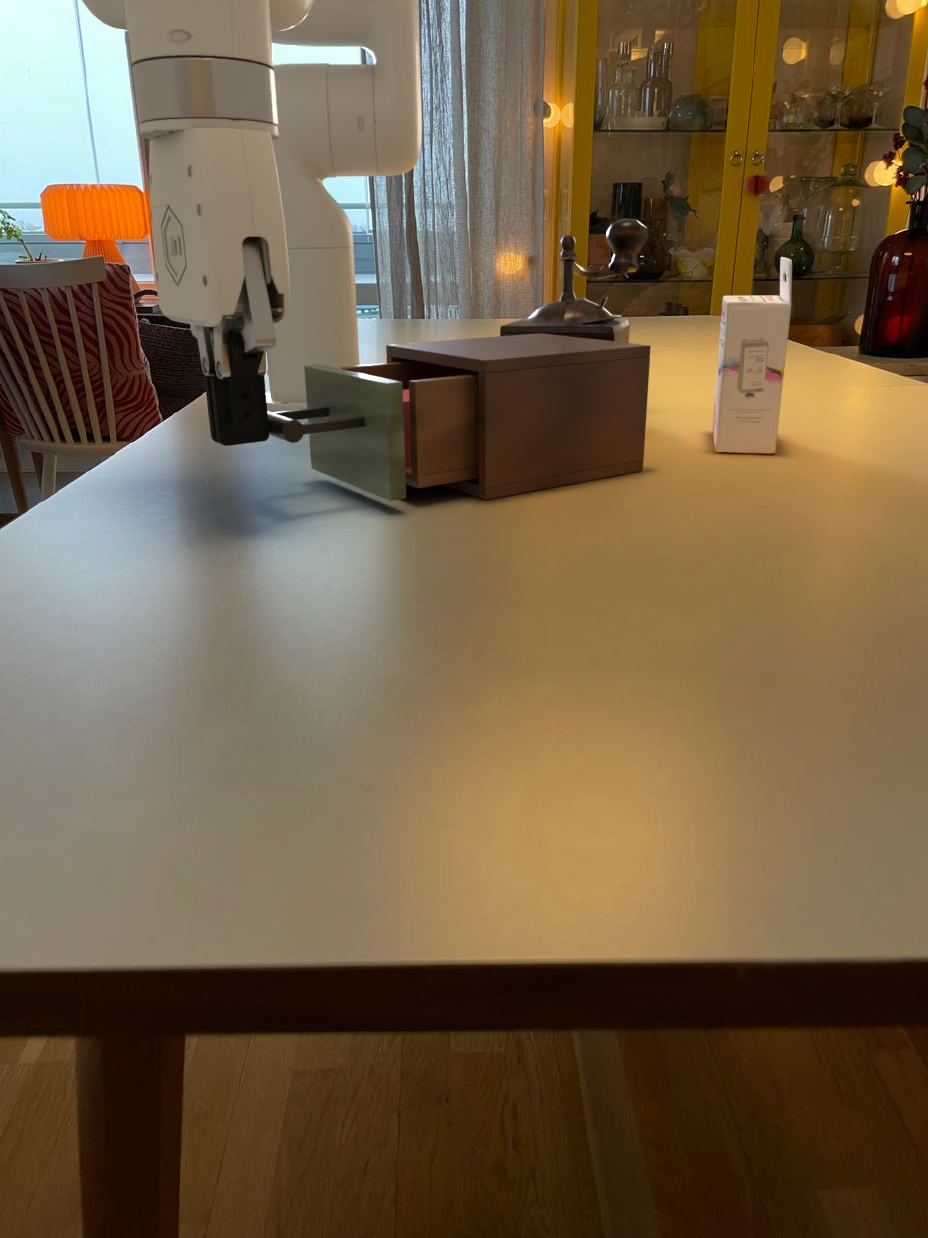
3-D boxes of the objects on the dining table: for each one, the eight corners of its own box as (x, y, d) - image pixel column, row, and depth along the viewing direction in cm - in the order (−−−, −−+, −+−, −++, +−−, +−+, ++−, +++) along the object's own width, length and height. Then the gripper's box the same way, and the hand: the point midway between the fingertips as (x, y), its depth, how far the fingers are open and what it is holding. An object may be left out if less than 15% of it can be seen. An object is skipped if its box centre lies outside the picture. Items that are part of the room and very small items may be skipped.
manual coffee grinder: (618, 438, 82) (630, 214, 75) (496, 432, 85) (497, 216, 78) (641, 410, 95) (652, 218, 89) (535, 405, 99) (538, 220, 92)
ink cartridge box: (708, 433, 84) (724, 256, 78) (766, 434, 83) (786, 256, 77) (712, 453, 76) (730, 258, 70) (776, 455, 75) (799, 258, 69)
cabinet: (485, 500, 63) (485, 360, 59) (390, 466, 72) (385, 344, 69) (643, 470, 70) (651, 345, 67) (538, 443, 80) (540, 333, 77)
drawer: (308, 515, 56) (299, 391, 53) (236, 479, 65) (225, 371, 62) (555, 471, 66) (558, 365, 63) (464, 446, 75) (463, 351, 72)
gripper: (102, 118, 55) (144, 430, 62) (186, 84, 44) (227, 471, 51) (224, 126, 59) (251, 418, 66) (330, 95, 48) (350, 454, 54)
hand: (240, 440), depth 58 cm, fingers closed
